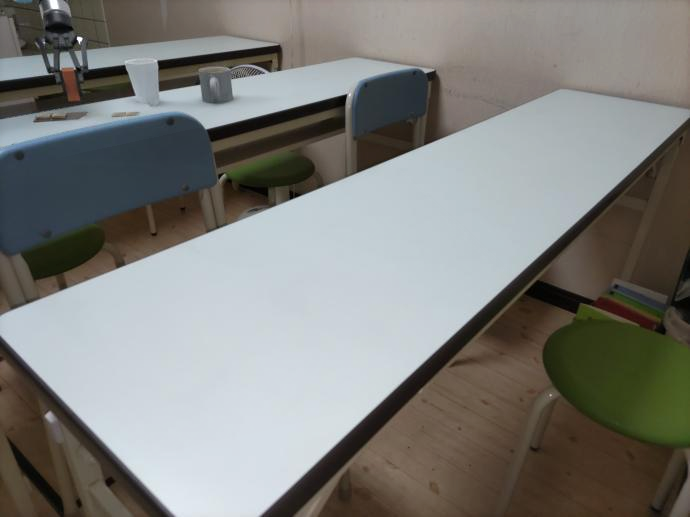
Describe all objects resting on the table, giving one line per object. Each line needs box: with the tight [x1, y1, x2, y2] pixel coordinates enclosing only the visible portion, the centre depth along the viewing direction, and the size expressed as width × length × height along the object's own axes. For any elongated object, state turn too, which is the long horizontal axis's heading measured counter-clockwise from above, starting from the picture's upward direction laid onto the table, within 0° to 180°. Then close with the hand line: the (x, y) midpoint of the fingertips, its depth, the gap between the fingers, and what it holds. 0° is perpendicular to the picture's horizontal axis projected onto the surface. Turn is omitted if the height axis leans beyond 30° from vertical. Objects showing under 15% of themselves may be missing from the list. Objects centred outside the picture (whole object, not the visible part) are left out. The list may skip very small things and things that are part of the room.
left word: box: [33, 111, 89, 123], centre depth 145 cm, size 13×8×2 cm, turn 106°
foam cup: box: [124, 58, 160, 107], centre depth 159 cm, size 10×9×13 cm
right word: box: [96, 111, 140, 118], centre depth 147 cm, size 12×8×2 cm, turn 106°
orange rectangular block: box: [61, 66, 82, 102], centre depth 142 cm, size 3×5×8 cm, turn 26°
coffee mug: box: [198, 66, 234, 104], centre depth 165 cm, size 13×10×10 cm
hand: (72, 93), depth 139 cm, fingers closed on orange rectangular block, 3 cm apart
